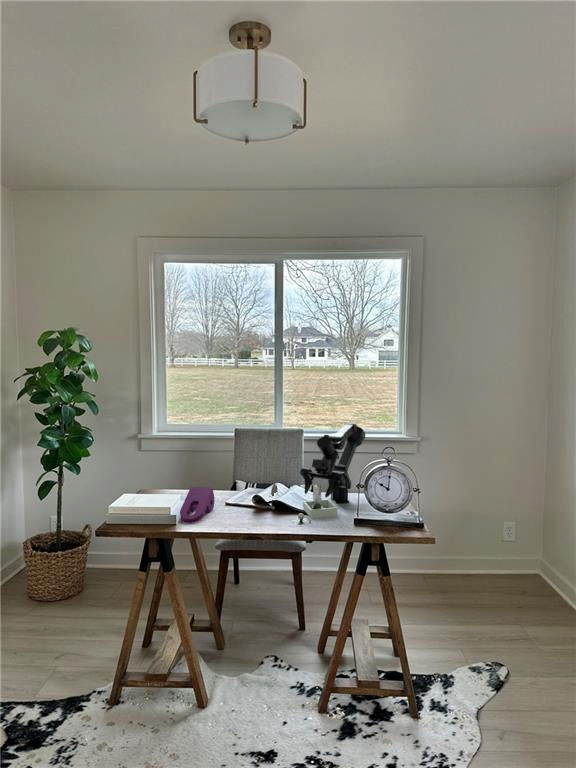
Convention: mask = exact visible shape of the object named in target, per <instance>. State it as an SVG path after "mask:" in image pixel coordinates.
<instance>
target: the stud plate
mask: <svg viewBox="0 0 576 768" xmlns="http://www.w3.org/2000/svg"><path fill="white" fill-rule="evenodd" d="M289 519H290V521H291V522H292V524H293V525H294V526H300V525H301V526H302V525H310V524H313V522H312V521H311V520H310V517H309V516H307V517H305V514H304V513H302V512H301V513H298V515H297V517H293V518H289Z"/></svg>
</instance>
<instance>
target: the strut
mask: <svg viewBox="0 0 576 768" xmlns="http://www.w3.org/2000/svg"><path fill="white" fill-rule="evenodd" d="M321 500H322V485H321V484H312V501H313V506H311V509H322V508H324V507H322V506H321Z"/></svg>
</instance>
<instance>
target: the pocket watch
mask: <svg viewBox="0 0 576 768" xmlns="http://www.w3.org/2000/svg"><path fill="white" fill-rule="evenodd" d="M275 482H276V478H275V479H273V482H272V484H273V485H272V486H271V490H270V491H271V492H270V495H272V496H274V493H276V492H277V493H278V484H276V483H275Z"/></svg>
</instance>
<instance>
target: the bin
mask: <svg viewBox="0 0 576 768" xmlns="http://www.w3.org/2000/svg"><path fill="white" fill-rule="evenodd" d="M311 506H313V500H304V501H302V509H303V508H304V509H303V510H304V512H305V513H306V514H307V516H308V517H309V519H311V518H312V519H314V518H325V517H335V516H338V513H339V511H338V507H337V505H335V504H334V503H333V502H332V500H331V499H328V498H327V499H321V506H322V507H323V508H322V509H311Z"/></svg>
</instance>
